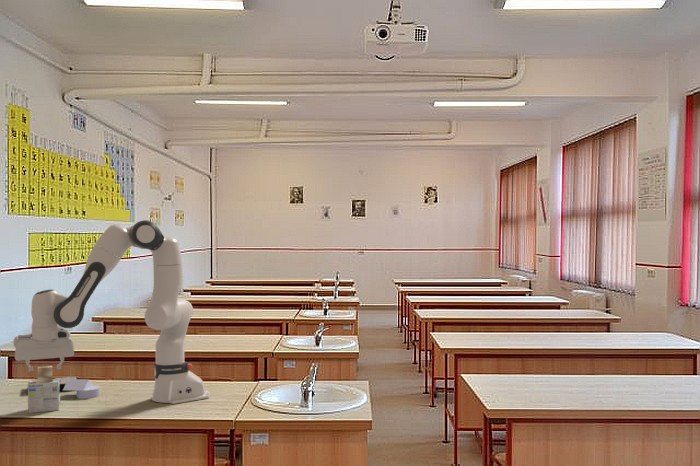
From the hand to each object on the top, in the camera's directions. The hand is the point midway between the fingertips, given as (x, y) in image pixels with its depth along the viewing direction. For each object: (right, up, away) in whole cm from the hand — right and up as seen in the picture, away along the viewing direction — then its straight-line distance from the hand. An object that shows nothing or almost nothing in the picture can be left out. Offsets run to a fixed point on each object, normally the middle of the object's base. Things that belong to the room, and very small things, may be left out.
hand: (45, 370), depth 248 cm
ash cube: (0, -4, 0) cm, 4 cm away
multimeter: (-11, -15, +32) cm, 37 cm away
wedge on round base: (+6, -15, +20) cm, 26 cm away
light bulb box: (0, -15, 0) cm, 15 cm away
